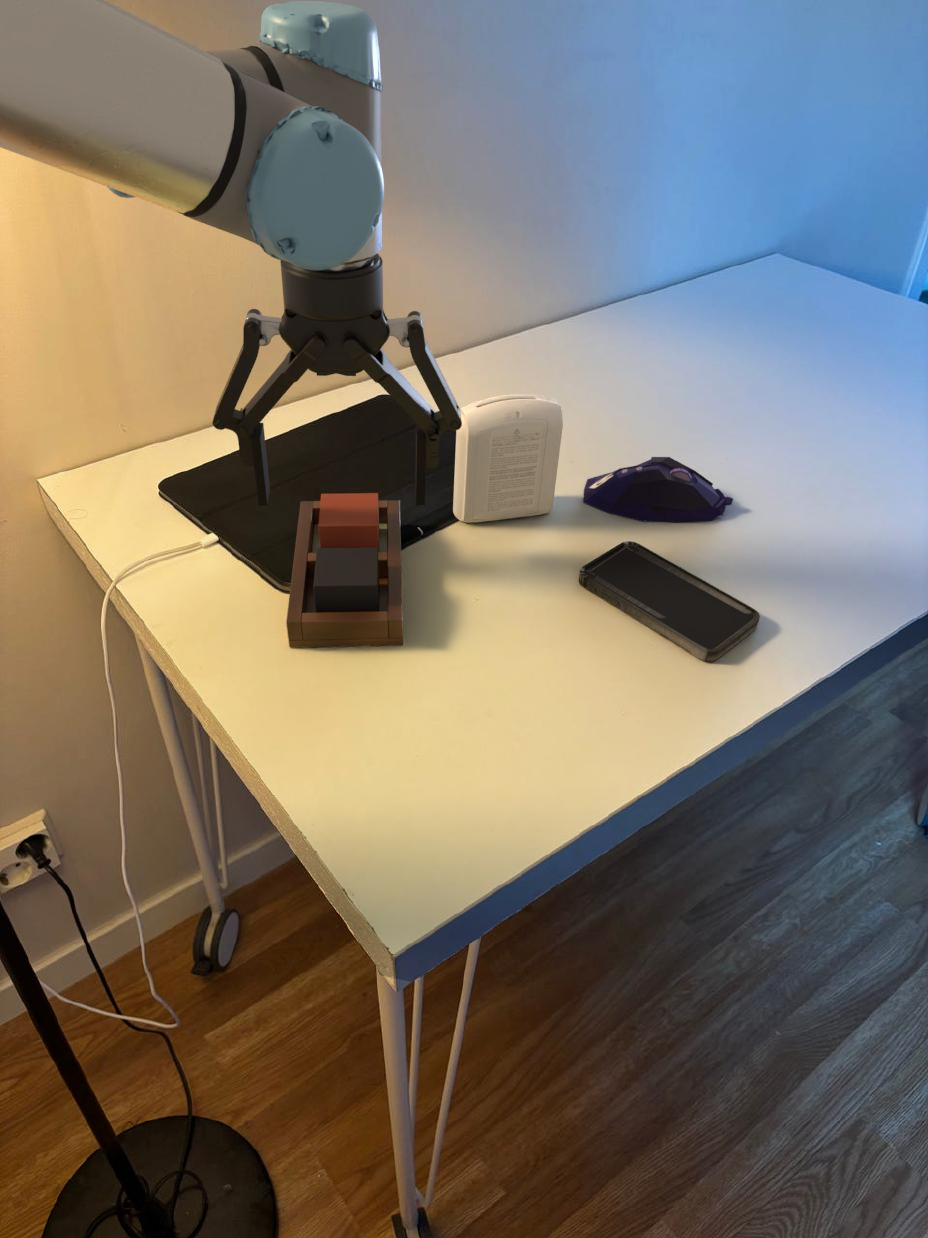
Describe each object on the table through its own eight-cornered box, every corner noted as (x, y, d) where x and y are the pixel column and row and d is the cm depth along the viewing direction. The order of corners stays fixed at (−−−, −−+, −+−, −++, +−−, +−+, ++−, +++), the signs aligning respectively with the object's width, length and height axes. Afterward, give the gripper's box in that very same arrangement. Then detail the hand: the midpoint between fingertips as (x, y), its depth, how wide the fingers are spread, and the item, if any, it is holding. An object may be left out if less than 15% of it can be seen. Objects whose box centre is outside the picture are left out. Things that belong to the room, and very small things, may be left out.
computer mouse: (589, 464, 102) (593, 431, 100) (729, 483, 100) (738, 450, 98) (579, 512, 95) (584, 478, 93) (730, 533, 93) (739, 499, 91)
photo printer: (544, 492, 98) (556, 381, 90) (559, 515, 95) (572, 402, 87) (447, 504, 95) (450, 392, 87) (459, 529, 92) (463, 414, 84)
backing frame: (289, 647, 79) (286, 622, 77) (302, 525, 92) (300, 500, 90) (403, 645, 79) (402, 620, 78) (400, 524, 93) (399, 499, 91)
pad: (321, 562, 86) (318, 526, 83) (323, 529, 90) (321, 493, 87) (379, 561, 86) (377, 525, 84) (379, 528, 90) (378, 492, 88)
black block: (316, 623, 80) (313, 586, 77) (319, 584, 84) (316, 547, 81) (378, 622, 80) (377, 585, 78) (379, 583, 84) (377, 547, 82)
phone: (629, 538, 90) (765, 614, 82) (627, 547, 91) (762, 624, 83) (573, 571, 86) (711, 656, 78) (572, 581, 86) (709, 666, 78)
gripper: (495, 238, 74) (480, 474, 88) (167, 231, 72) (204, 474, 86) (504, 274, 68) (487, 520, 82) (148, 268, 66) (191, 521, 80)
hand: (342, 497), depth 84 cm, fingers open, 13 cm apart
